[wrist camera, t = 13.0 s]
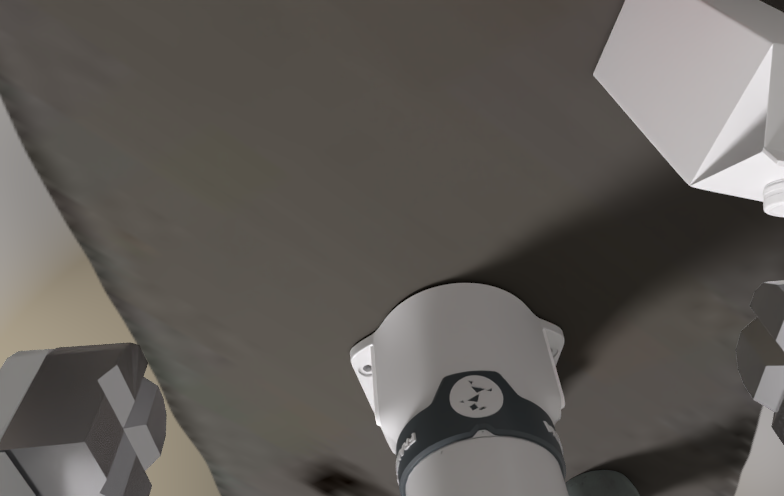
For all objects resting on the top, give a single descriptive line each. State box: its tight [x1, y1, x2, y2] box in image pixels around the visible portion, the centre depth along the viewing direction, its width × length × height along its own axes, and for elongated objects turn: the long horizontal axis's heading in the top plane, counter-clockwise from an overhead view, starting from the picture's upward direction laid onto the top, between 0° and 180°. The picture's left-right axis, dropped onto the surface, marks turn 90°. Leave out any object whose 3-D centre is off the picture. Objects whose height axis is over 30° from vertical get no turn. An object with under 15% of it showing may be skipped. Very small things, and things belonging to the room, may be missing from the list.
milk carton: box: [593, 0, 784, 217], centre depth 33 cm, size 7×7×19 cm
